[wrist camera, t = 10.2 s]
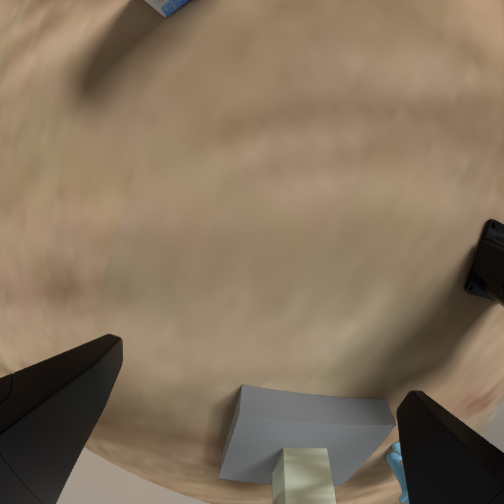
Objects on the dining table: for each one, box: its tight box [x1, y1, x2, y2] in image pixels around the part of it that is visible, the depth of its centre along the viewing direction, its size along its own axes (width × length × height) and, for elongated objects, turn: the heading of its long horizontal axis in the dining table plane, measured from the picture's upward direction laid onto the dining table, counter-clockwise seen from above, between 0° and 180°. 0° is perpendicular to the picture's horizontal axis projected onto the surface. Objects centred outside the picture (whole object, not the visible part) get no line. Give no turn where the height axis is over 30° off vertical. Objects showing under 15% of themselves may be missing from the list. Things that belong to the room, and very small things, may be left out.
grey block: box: [218, 384, 396, 486], centre depth 24 cm, size 14×12×4 cm
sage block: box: [272, 448, 336, 504], centre depth 18 cm, size 4×5×8 cm
